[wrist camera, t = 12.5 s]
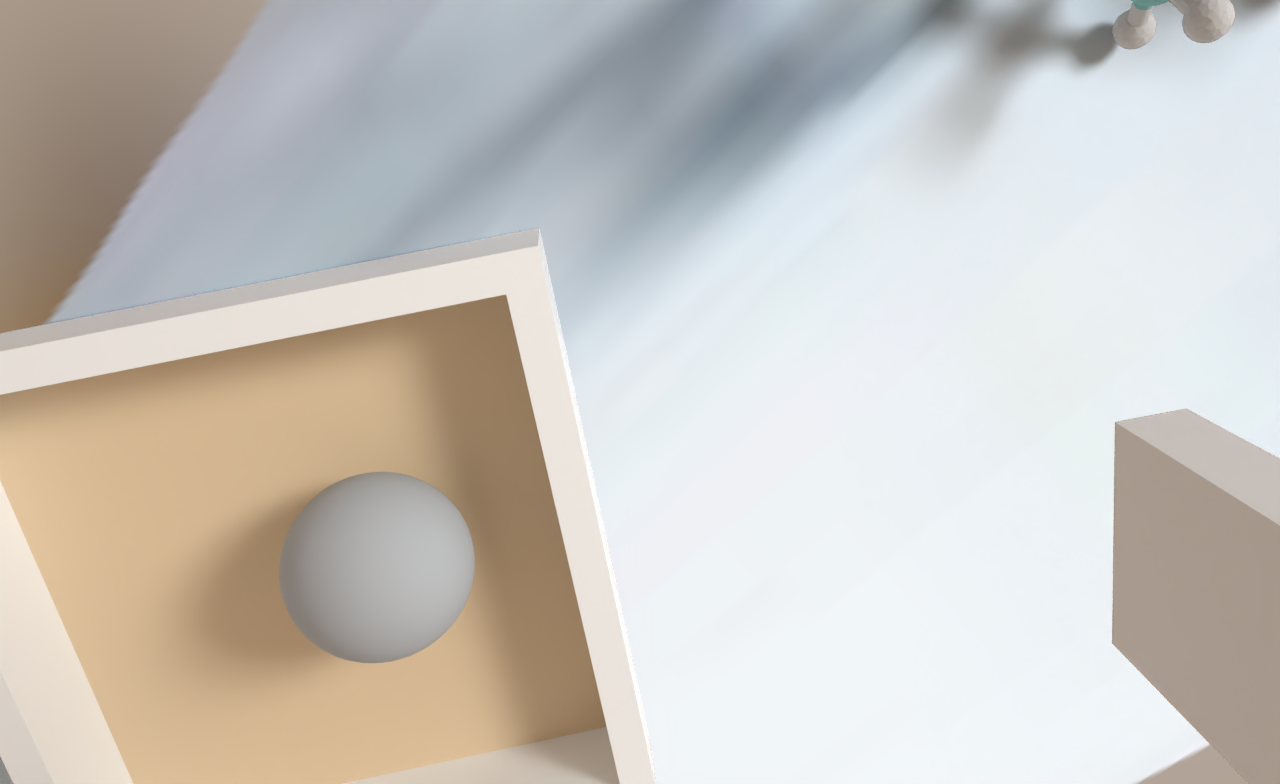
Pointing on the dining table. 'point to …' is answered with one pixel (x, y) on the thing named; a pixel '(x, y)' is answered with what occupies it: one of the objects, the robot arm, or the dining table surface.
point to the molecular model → (1201, 21)
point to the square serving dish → (262, 515)
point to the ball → (376, 567)
